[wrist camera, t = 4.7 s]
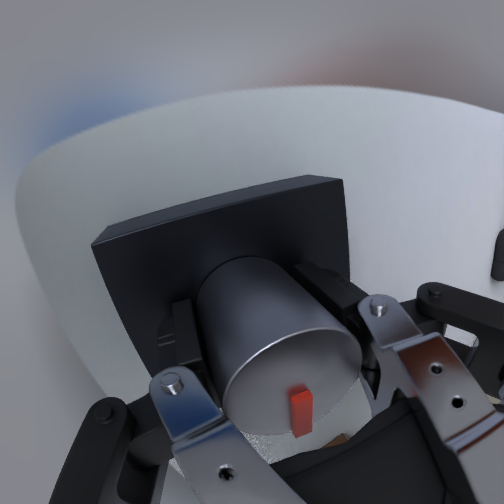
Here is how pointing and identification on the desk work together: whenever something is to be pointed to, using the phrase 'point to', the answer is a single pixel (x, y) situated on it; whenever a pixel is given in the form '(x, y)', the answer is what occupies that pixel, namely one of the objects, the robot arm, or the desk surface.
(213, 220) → the knob base
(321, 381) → the silver rotary knob
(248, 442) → the robot arm
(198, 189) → the desk surface
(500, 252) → the computer mouse
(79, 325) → the desk surface
